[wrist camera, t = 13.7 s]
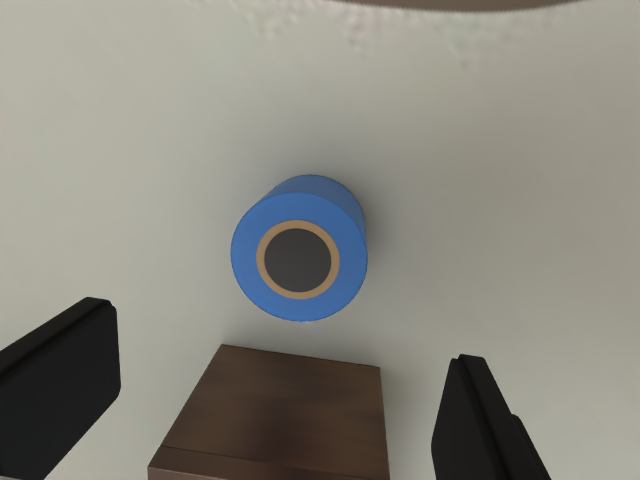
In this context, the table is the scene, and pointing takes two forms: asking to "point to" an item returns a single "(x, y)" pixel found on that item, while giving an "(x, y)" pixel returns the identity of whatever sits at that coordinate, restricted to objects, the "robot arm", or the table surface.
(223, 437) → the brown boxy piece
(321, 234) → the tape
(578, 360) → the table surface
